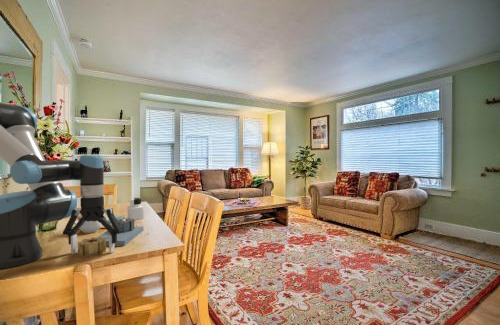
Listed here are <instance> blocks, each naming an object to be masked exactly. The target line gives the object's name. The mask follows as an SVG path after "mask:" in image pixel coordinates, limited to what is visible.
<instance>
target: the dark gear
mask: <svg viewBox="0 0 500 325" xmlns="http://www.w3.org/2000/svg"><path fill="white" fill-rule="evenodd" d="M122 219H123V218H119V219H117V221H118V223H119V225H120V227H121V229H122V231H121V232H124V233H125V232H127V231H133V229H134V227H135V220H134V219H131V218H128V217H127V218H124V219H125V220H126V221H122Z"/></svg>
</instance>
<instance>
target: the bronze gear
mask: <svg viewBox="0 0 500 325" xmlns="http://www.w3.org/2000/svg"><path fill="white" fill-rule="evenodd" d="M96 237H97V236H94V237H91V238H84V239H81V241H77V256H79V257H80V258H84V257H89V258H91V257H93V258H94V256H97V255H98V256H99V255H102V254H104V252H107V246H106V239H104V237H100V238H96Z"/></svg>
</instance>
